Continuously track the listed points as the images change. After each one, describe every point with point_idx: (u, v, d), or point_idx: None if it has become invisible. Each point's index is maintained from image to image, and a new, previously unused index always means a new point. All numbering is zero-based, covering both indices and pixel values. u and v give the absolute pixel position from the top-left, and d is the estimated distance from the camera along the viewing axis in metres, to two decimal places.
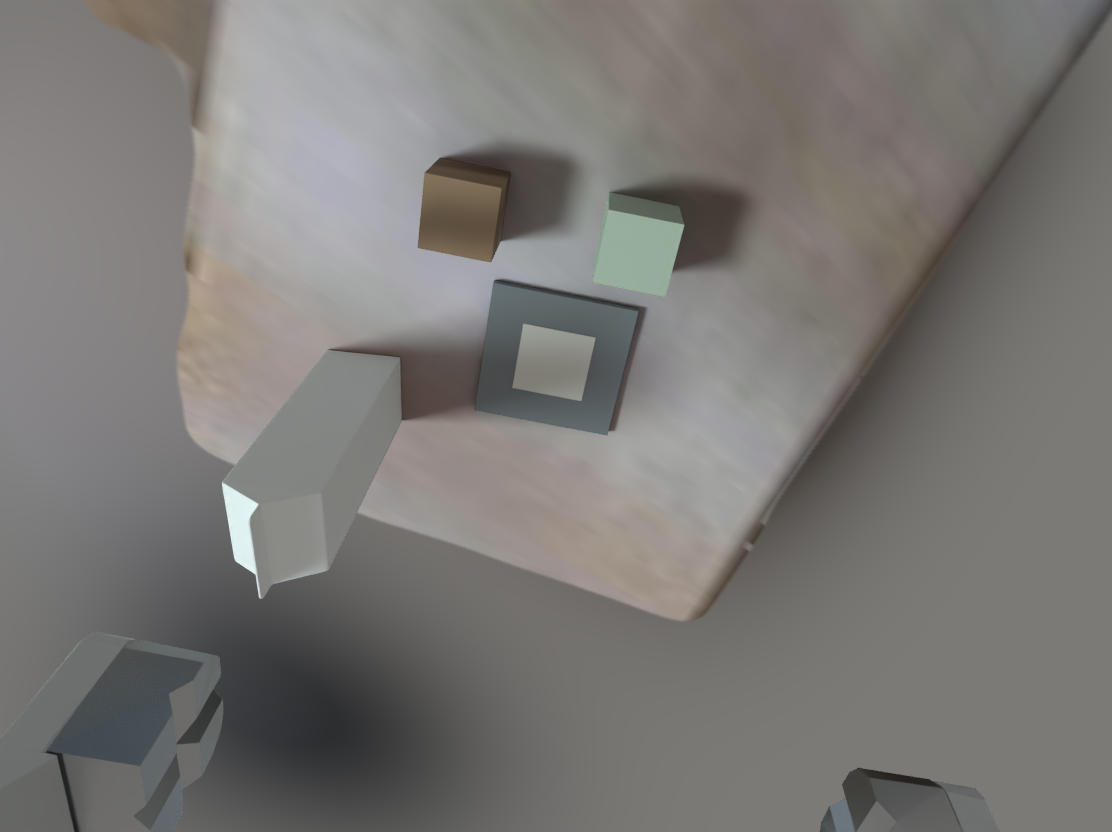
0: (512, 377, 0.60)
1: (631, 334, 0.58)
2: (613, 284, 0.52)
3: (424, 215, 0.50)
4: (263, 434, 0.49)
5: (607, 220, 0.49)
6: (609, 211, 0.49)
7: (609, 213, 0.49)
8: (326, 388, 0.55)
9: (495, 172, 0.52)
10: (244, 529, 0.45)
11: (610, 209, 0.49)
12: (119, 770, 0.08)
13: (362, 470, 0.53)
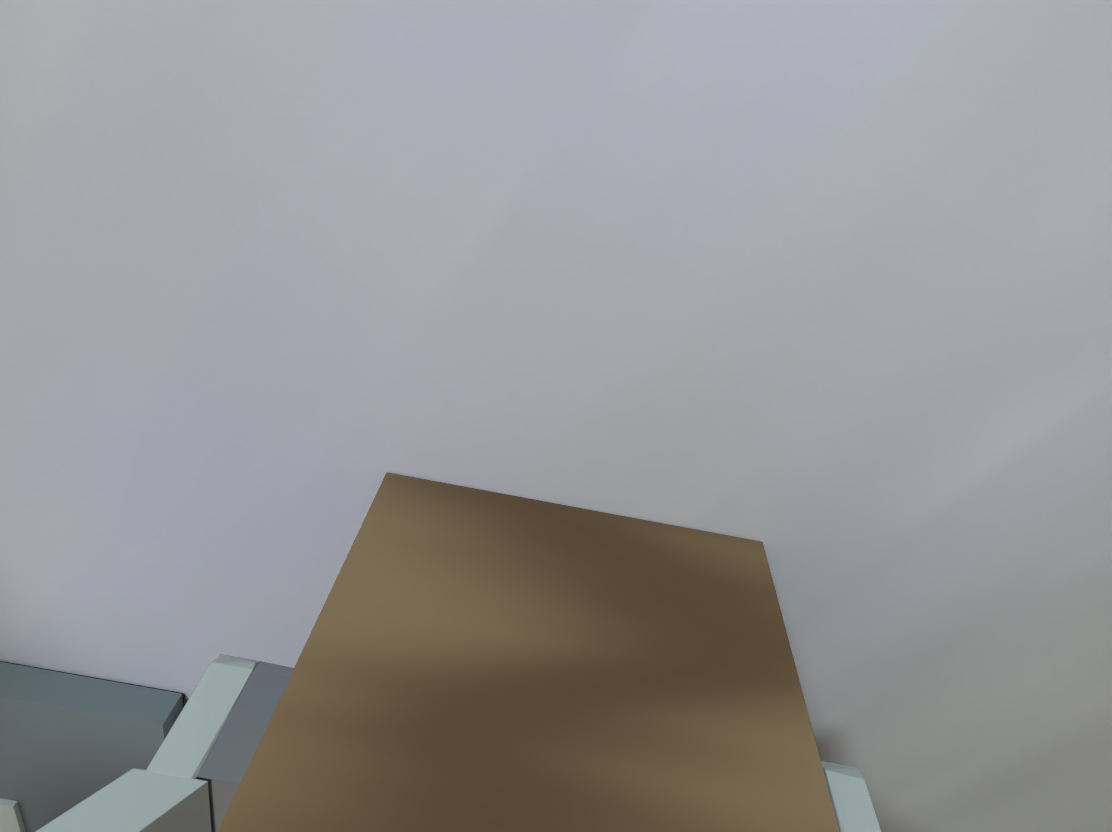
0: None
1: None
2: None
3: None
4: None
5: None
6: None
7: None
8: None
9: None
10: None
11: None
12: None
13: None
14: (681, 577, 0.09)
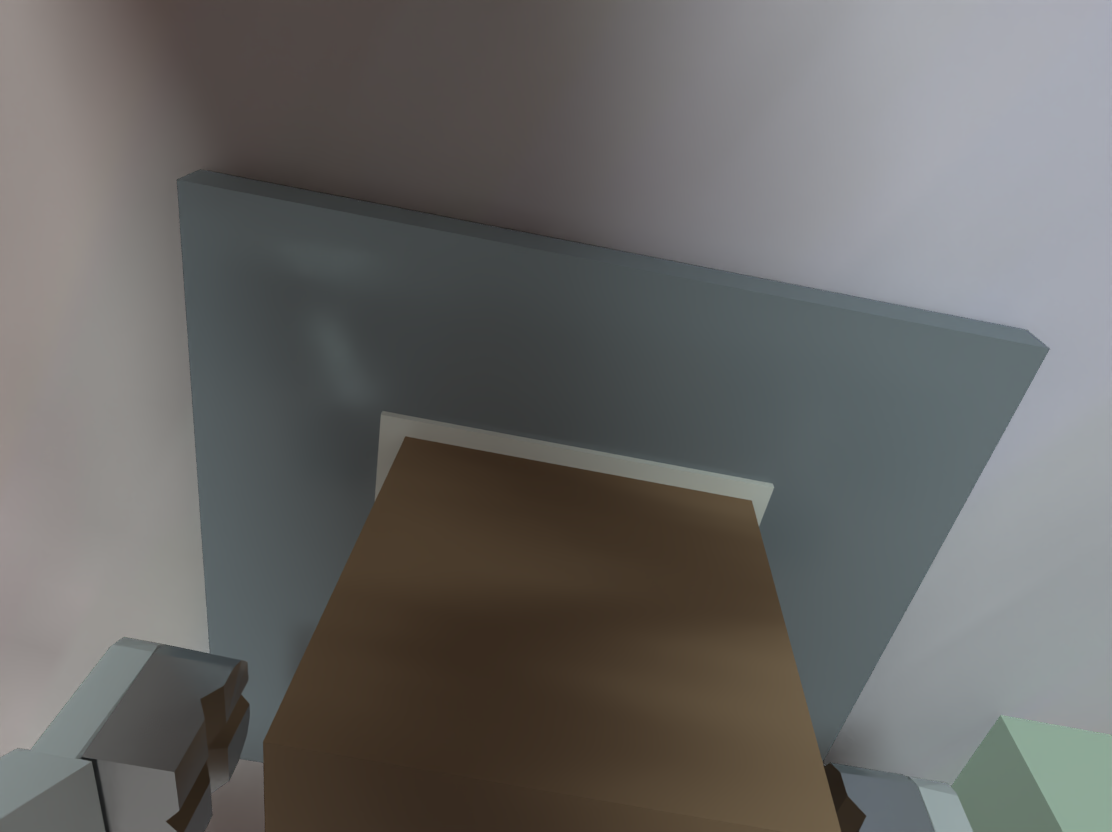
0: (445, 415, 0.11)
1: None
2: None
3: (524, 804, 0.07)
4: None
5: None
6: None
7: None
8: None
9: None
10: None
11: None
12: (154, 776, 0.08)
13: None
14: (677, 529, 0.10)
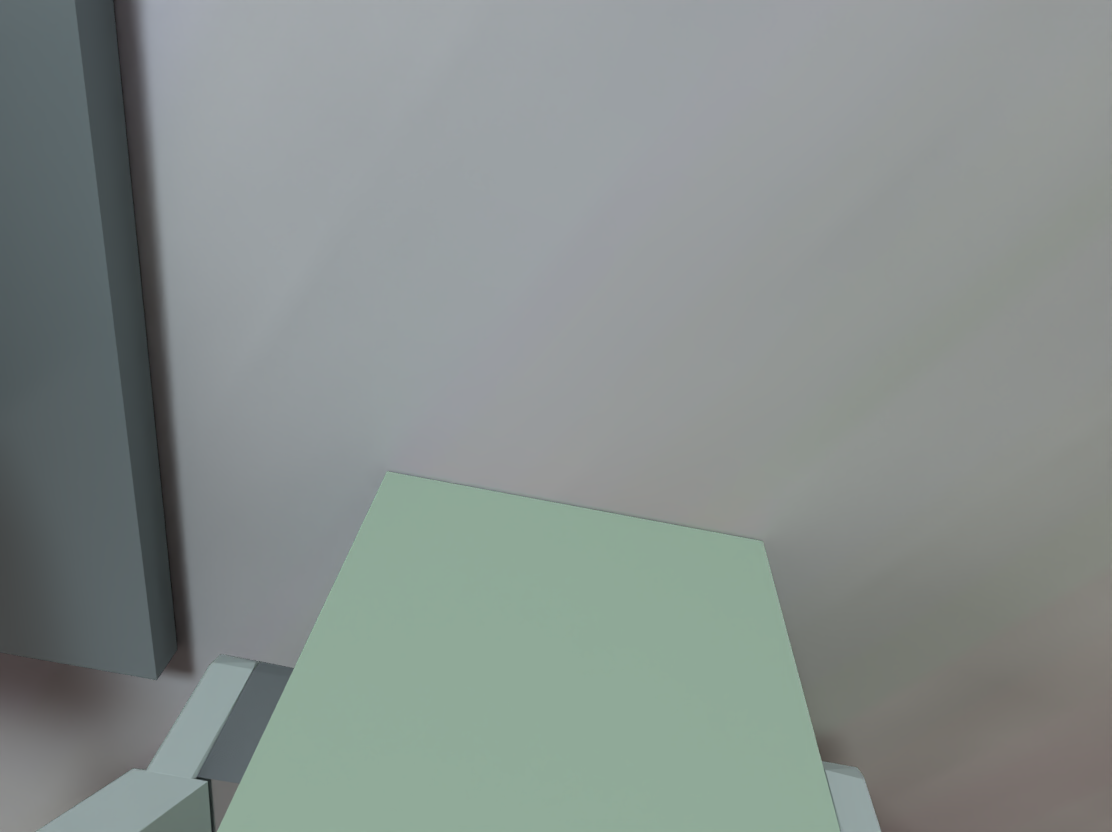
0: None
1: (25, 652, 0.11)
2: None
3: None
4: None
5: None
6: None
7: None
8: None
9: None
10: None
11: None
12: None
13: None
14: None
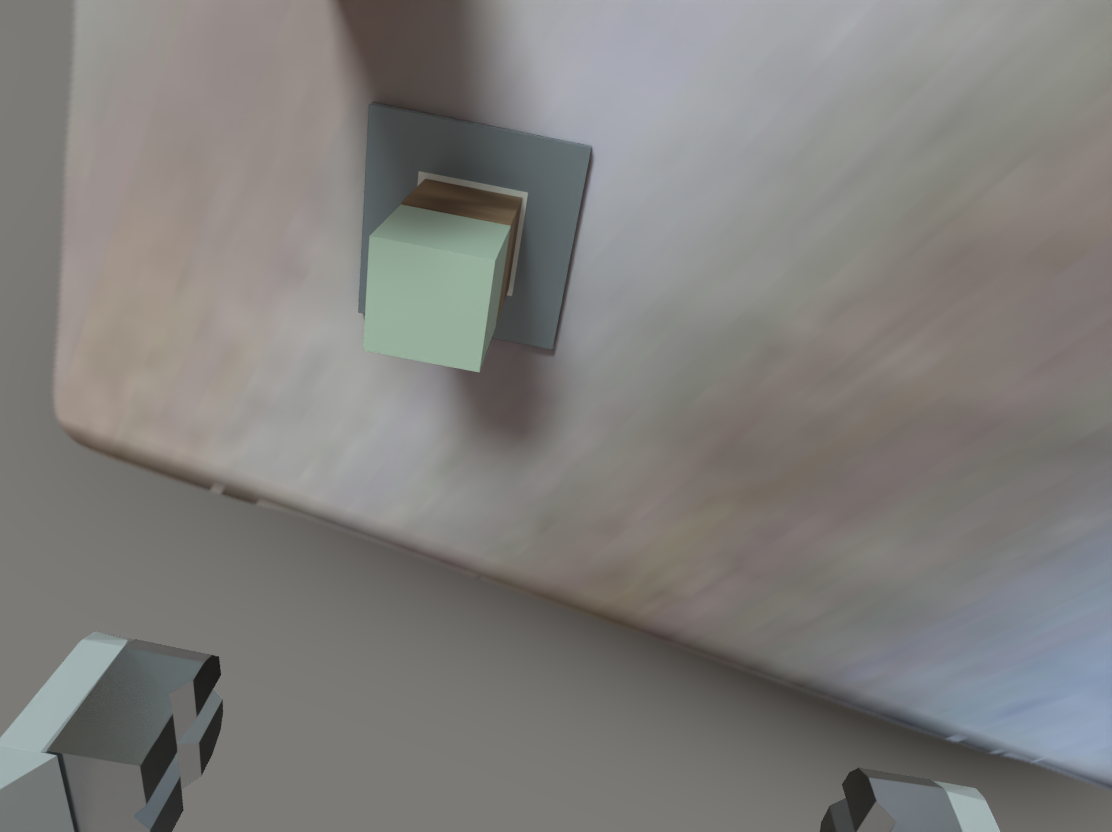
0: (436, 172, 0.38)
1: (519, 341, 0.43)
2: (371, 270, 0.30)
3: None
4: None
5: (477, 258, 0.30)
6: (492, 261, 0.30)
7: (489, 261, 0.30)
8: None
9: (508, 279, 0.40)
10: None
11: (495, 261, 0.30)
12: (119, 771, 0.08)
13: None
14: (497, 198, 0.38)
